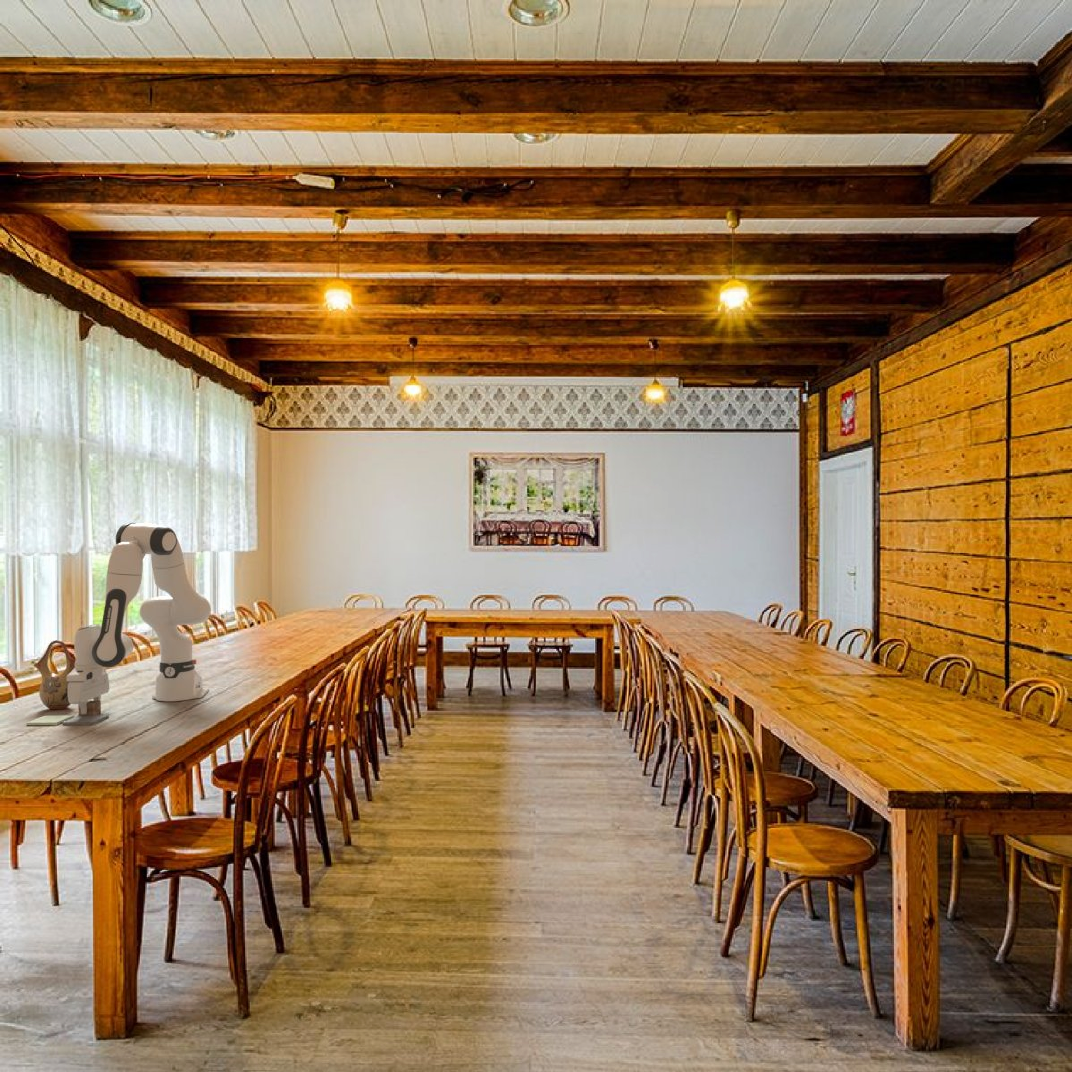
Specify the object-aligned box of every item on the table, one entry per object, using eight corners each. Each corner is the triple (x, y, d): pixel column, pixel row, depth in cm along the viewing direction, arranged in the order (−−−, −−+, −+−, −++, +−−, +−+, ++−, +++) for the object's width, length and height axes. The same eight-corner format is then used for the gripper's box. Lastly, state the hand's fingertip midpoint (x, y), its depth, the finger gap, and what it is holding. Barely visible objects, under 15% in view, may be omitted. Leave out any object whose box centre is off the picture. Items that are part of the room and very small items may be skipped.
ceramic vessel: (87, 705, 296) (86, 637, 296) (75, 711, 287) (74, 641, 287) (41, 706, 295) (40, 638, 295) (27, 712, 286) (26, 642, 286)
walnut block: (86, 714, 282) (86, 700, 282) (100, 714, 282) (100, 700, 282) (78, 718, 277) (78, 703, 277) (93, 718, 277) (92, 703, 277)
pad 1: (44, 718, 276) (44, 715, 276) (73, 718, 276) (73, 715, 276) (26, 725, 266) (26, 722, 266) (56, 725, 266) (56, 722, 266)
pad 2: (79, 718, 276) (79, 715, 276) (108, 717, 276) (108, 714, 276) (62, 725, 266) (62, 722, 266) (92, 725, 266) (92, 722, 266)
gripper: (96, 666, 289) (97, 704, 290) (63, 677, 269) (64, 718, 269) (113, 666, 289) (114, 704, 290) (82, 677, 269) (83, 718, 269)
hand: (90, 711), depth 279 cm, fingers open, 5 cm apart
